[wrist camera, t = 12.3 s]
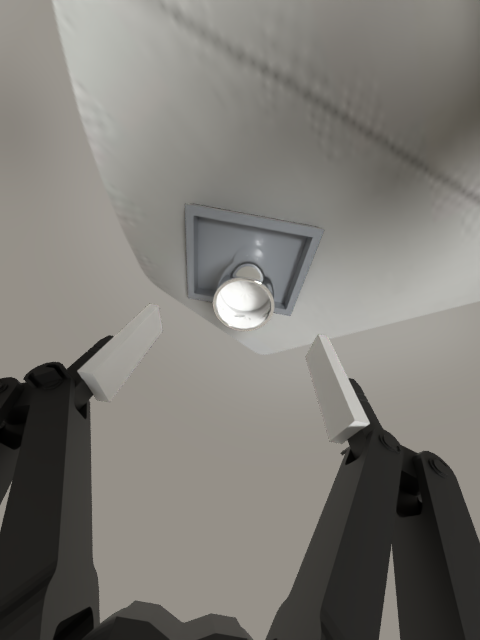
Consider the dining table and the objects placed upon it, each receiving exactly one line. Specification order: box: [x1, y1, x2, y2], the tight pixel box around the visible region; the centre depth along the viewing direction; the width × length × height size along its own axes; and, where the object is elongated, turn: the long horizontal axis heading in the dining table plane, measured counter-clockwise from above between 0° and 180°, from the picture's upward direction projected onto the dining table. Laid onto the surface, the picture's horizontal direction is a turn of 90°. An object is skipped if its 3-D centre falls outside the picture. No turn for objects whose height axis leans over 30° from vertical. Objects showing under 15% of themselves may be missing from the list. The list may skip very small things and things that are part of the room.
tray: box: [185, 204, 324, 316], centre depth 30 cm, size 20×15×4 cm
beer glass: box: [213, 247, 274, 331], centre depth 24 cm, size 7×7×15 cm
